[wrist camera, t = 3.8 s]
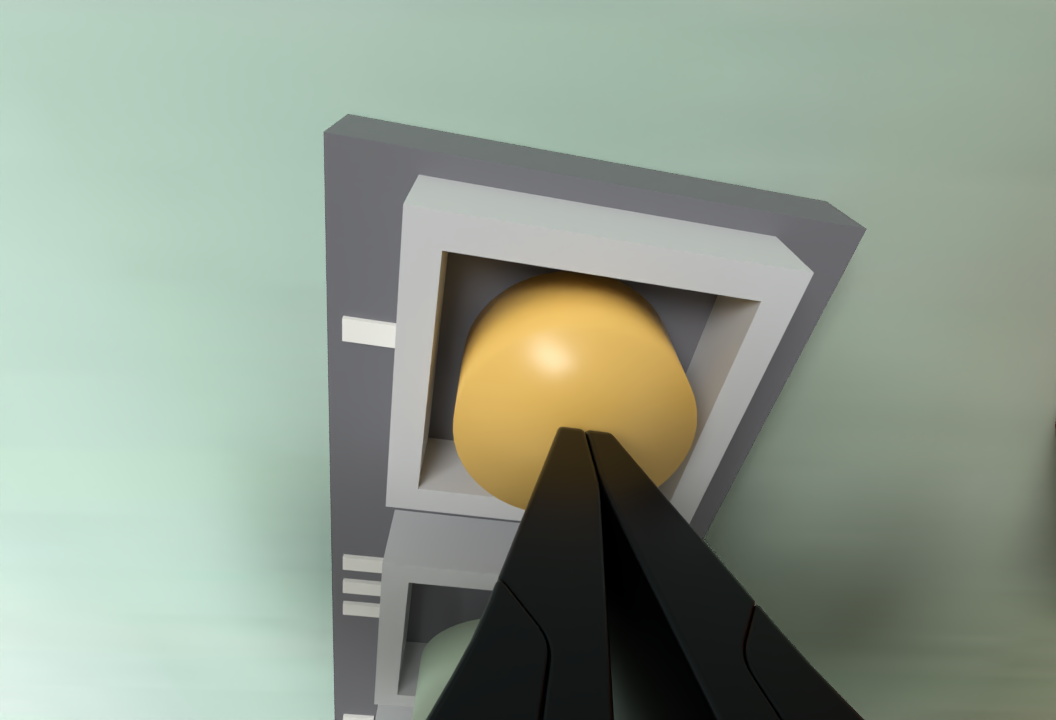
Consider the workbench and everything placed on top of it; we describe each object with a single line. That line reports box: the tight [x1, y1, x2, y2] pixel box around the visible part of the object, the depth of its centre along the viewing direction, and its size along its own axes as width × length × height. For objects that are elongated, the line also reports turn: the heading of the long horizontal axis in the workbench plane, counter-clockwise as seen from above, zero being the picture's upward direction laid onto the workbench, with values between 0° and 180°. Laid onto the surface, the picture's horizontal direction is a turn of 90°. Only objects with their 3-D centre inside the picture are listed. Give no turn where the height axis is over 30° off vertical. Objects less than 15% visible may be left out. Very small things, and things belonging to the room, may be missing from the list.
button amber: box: [453, 271, 697, 510], centre depth 10 cm, size 4×4×2 cm
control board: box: [324, 114, 866, 720], centre depth 15 cm, size 23×9×3 cm, turn 170°
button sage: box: [412, 619, 480, 720], centre depth 13 cm, size 4×4×2 cm
